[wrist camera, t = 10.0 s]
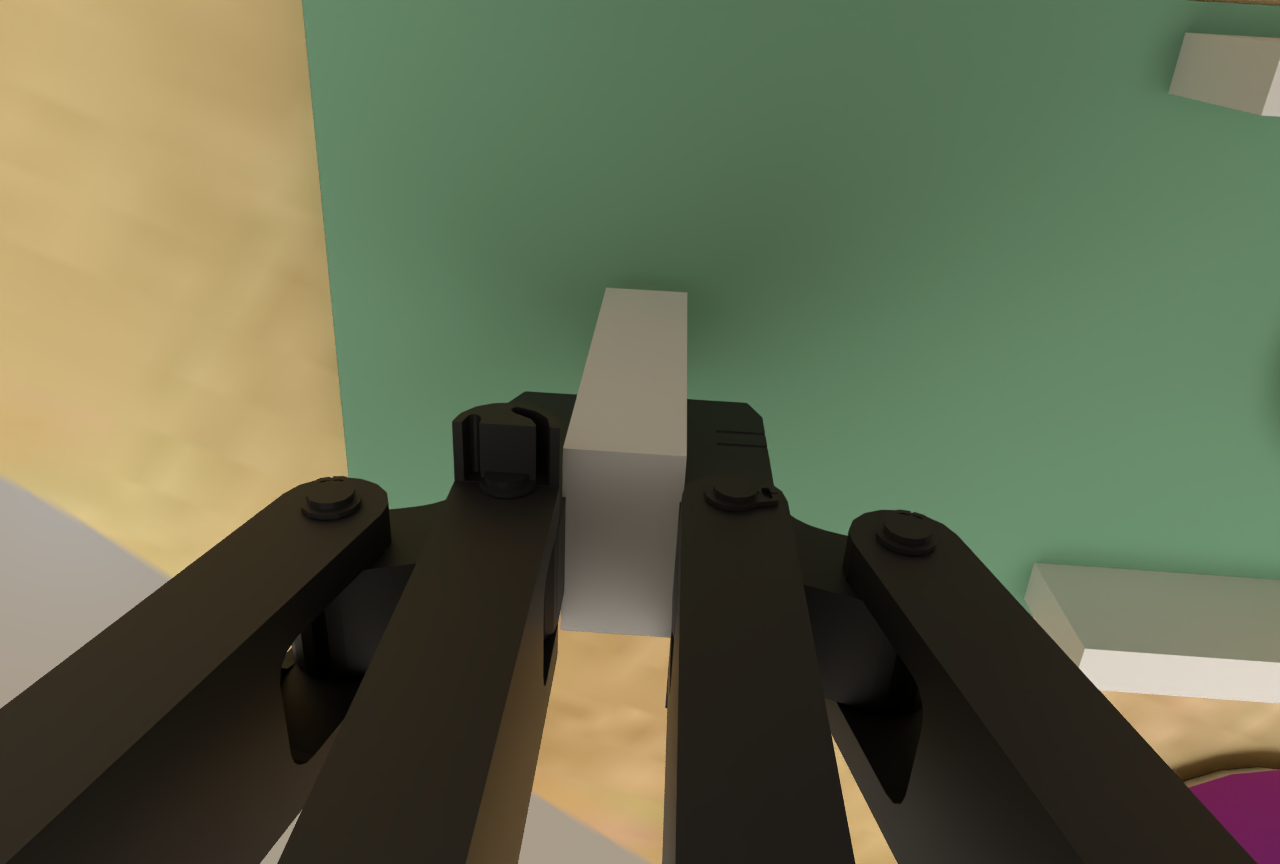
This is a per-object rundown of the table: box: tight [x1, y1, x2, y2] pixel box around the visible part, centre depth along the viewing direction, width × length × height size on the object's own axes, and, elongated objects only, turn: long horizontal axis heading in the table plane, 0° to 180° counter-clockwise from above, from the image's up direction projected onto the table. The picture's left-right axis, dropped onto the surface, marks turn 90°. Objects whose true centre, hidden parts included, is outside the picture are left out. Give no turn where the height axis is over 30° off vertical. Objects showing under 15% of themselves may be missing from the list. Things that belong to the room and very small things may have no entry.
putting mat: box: [302, 0, 1280, 618], centre depth 19 cm, size 26×13×1 cm, turn 87°
